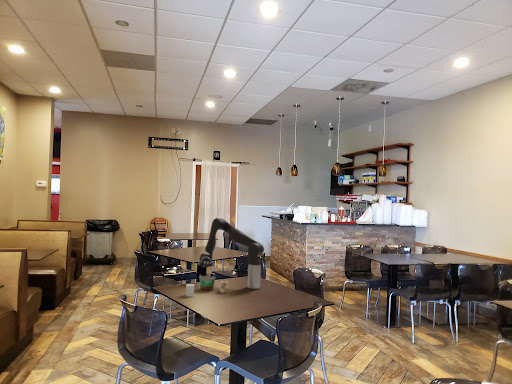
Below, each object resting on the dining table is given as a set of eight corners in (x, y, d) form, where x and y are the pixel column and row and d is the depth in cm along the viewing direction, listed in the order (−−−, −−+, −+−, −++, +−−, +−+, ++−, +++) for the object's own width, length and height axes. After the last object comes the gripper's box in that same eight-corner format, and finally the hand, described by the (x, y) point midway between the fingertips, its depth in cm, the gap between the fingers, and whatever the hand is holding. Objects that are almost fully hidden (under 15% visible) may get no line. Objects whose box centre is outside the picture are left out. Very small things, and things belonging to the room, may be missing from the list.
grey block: (193, 294, 238) (194, 284, 238) (193, 296, 233) (194, 285, 233) (186, 294, 237) (186, 284, 237) (185, 296, 232) (186, 285, 233)
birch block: (227, 291, 253) (227, 281, 253) (227, 293, 248) (228, 282, 248) (220, 291, 252) (220, 281, 253) (220, 292, 247) (221, 282, 248)
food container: (195, 290, 251) (196, 275, 252) (199, 288, 257) (199, 274, 257) (211, 292, 248) (212, 277, 248) (214, 290, 253) (215, 276, 254)
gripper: (197, 256, 282) (197, 260, 264) (214, 257, 283) (215, 261, 266) (197, 266, 281) (196, 270, 264) (214, 267, 283) (214, 271, 266)
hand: (206, 265), depth 265 cm, fingers closed
